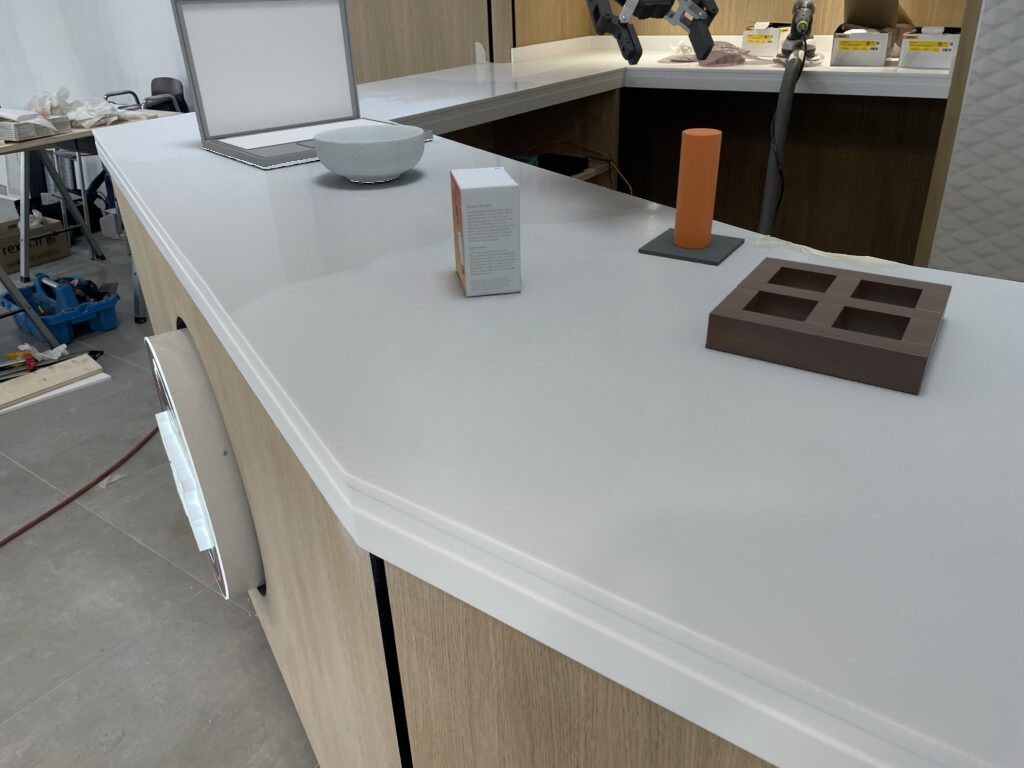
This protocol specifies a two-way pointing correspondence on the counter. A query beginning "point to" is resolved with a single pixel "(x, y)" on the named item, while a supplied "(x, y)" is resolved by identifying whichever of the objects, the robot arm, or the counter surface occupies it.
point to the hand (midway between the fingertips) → (672, 57)
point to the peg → (697, 187)
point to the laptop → (269, 75)
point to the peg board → (833, 322)
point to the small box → (486, 230)
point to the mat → (709, 255)
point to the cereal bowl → (370, 151)
